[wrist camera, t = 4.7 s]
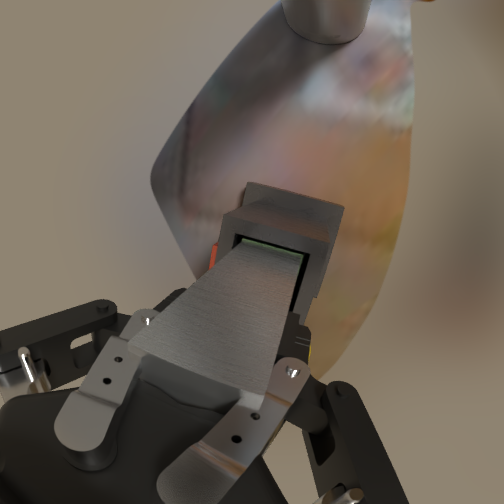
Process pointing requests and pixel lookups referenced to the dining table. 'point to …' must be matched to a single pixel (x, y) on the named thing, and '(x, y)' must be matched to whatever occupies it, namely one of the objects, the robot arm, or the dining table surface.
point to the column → (222, 329)
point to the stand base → (285, 234)
